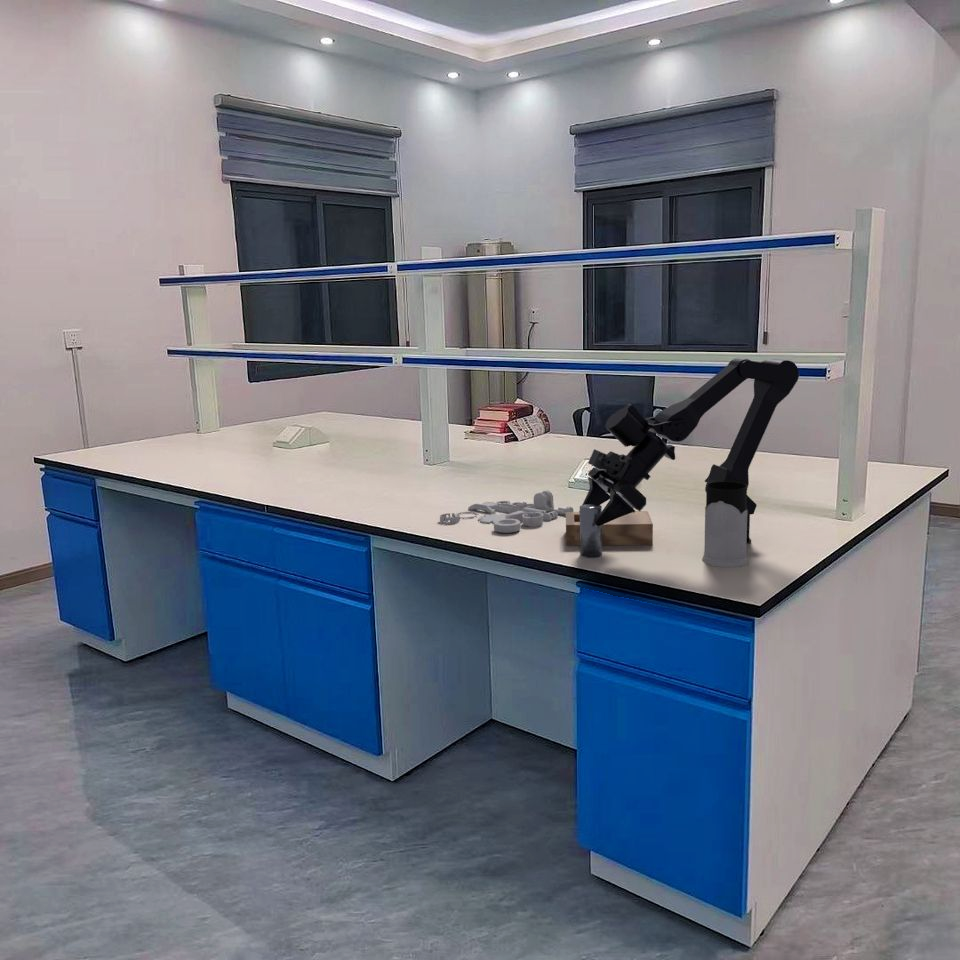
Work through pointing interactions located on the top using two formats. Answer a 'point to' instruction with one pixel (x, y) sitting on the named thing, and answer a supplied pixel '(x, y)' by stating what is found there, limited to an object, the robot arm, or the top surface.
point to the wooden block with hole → (615, 529)
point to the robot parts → (513, 513)
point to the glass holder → (725, 524)
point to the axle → (590, 531)
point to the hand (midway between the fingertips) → (588, 519)
